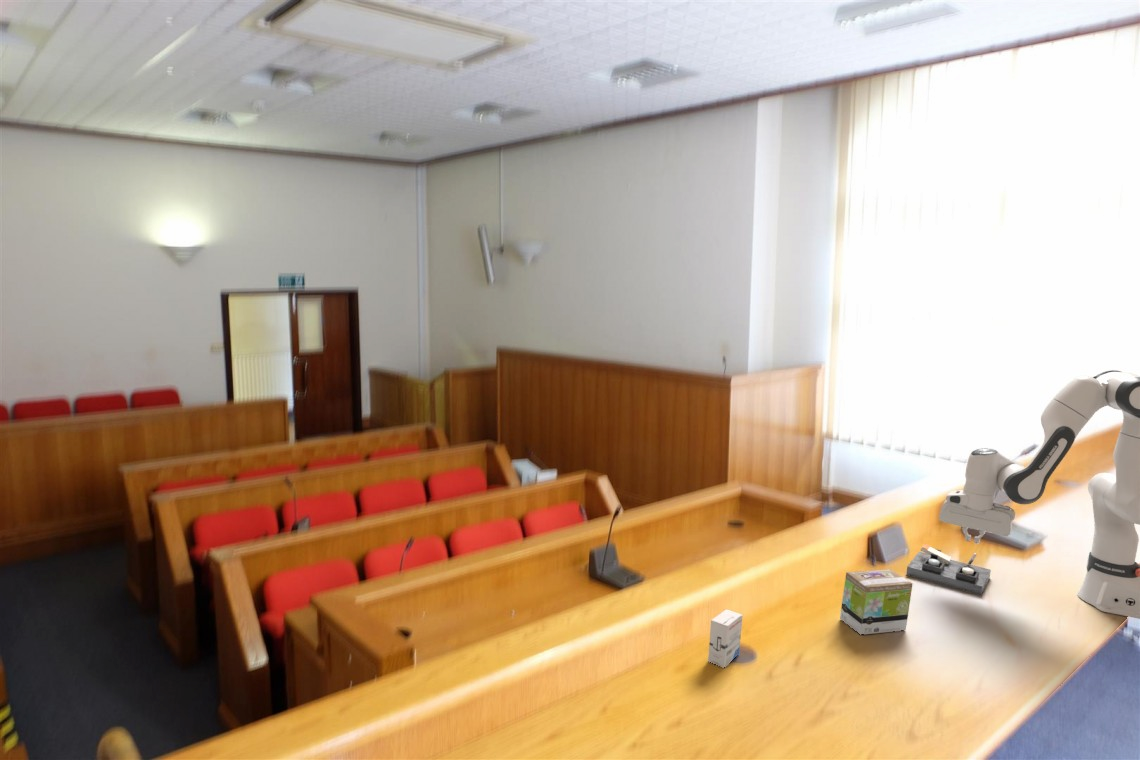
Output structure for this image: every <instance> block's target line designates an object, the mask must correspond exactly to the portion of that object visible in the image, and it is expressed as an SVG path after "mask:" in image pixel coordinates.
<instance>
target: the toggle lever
mask: <svg viewBox="0 0 1140 760" xmlns="http://www.w3.org/2000/svg"><path fill="white" fill-rule="evenodd" d="M977 556H978V555H977V553H973V554H972V556H971V558H970V559H969V561H968V562H967V563H966V564H967V566H968V567H970V566H971V565H972V564H973V562H974V561H975V559H976V558H977Z"/></svg>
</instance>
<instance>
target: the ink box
mask: <svg viewBox="0 0 1140 760" xmlns="http://www.w3.org/2000/svg"><path fill="white" fill-rule="evenodd" d="M743 615H744V614H741V613H739V612H736V611H733V610H732V609H731V610H730V609H728V608H726V609H725V610H723V611H722V612H721V613H719V614H718V615H716V616H715V617H713V618H712V619H710V630H709V643H708V656H707V657H708V658H707V662H708V663H710V662H711V663H710V664H712V663H713V665H714V664H716V665H715V666H717V665H718V666H717V667H719V666H721V667H723V668H722V669H725V668H727V666H729V665H730V664H729V663H730V662H731V661H732V660H733V659H734V658H735V657H736V656H737V655H738V656H740V646H741V637H742V636H741V635H742V628H743V627H742V626H743V618H744V616H743ZM738 656H737V657H738ZM737 657H736V658H737ZM736 658H735V659H736ZM735 659H734V660H735ZM734 660H733V661H734ZM733 661H732V662H733ZM721 667H720V668H721ZM724 667H725V668H724Z"/></svg>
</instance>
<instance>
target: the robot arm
mask: <svg viewBox="0 0 1140 760" xmlns="http://www.w3.org/2000/svg"><path fill="white" fill-rule="evenodd" d="M1106 406H1108V407H1111V409H1114V410H1118V411H1119V410H1120V411H1121V412H1122V415H1123V419H1122V424H1121V426H1120V429H1119V434H1118V436H1117V440H1116V443H1115V446H1114V450H1113V453H1112V458H1113V460H1112V461H1113V462H1114V467H1115V473H1114V472H1113V473H1112V472H1099V473H1096V474H1095V475H1094V476H1092V477H1091V479H1090V480H1089V482H1088V485H1087V490H1088V493H1089V495H1090V498H1091V501H1092V511H1093V523H1094V531H1093V538H1092V544H1091V550H1090V551H1089V553H1088V557H1087V561H1086V573H1085V577H1084V578H1083V579H1084V580H1083V582H1082V585H1081V586H1080V589H1079V590H1078V591H1077V596H1078V598H1079V599H1080V600H1082V601H1084V602H1086V603H1088V604H1090V605H1092V606H1093V607H1095V608H1096V609H1097V610H1099V611H1101V612H1105V613H1109V614H1114V615H1117V616H1118V615H1119V616H1125V617H1128V618H1129V617H1130V618H1134V619H1138V620H1140V562H1137V561H1136V557H1137V551H1138V546H1139V542H1140V541H1139V540H1140V539H1139V538H1140V537H1139V534H1138V532H1137V530H1136V527H1135V526H1136V525H1139V526H1140V376H1139V375H1137V374H1134V373H1132V372H1123V371H1121V370H1113V369H1112V370H1106V371H1103V372H1100V373H1098V374H1097V375H1095V376H1088V375H1080V376H1076V377H1074V378H1073V379H1072V380H1071V381H1070V382H1068V383H1067V384H1066V385H1065V386H1064V387H1063V388H1061V390H1060V391H1058V392H1057V394H1056V395H1055V396H1054V397H1053V398H1052V399H1051V401H1049V403H1048V404H1047V405H1046V406H1045V408H1044V410H1043V412H1042V414H1041V415H1040V421H1041V426H1042V429H1043V434H1044V438H1043V443H1042V445H1041V446H1040V448H1039V449H1038V451H1037V452H1036V454H1035V455H1034V457H1032V459H1031V461H1029V463H1028V465H1026V466H1025V465H1024V464H1022V463H1020V462H1018V461H1016V460H1013V459H1010V458H1008V457H1006V456H1005V455H1002V454H1001V453H1000V452H999V451H997V450H996V449H993V448H988V447H987V448H986V447H985V448H982V447H981V448H976V449H975V450H972V451H971V453H970V454H969V457H968V459H967V464H966V468H965V473H964V474H965V475H964V477H965V483H964V485H963V488H962V489H959V490H950V491H949V492H947V494H946V496H945V500H944V502H943V503H942V505H941V507H940V511H939V515H938V519H939V521H940V522H941V523H944V524H945V523H946V524H950V525H955V526H958V527H962V529H961V530H962V532H963V535H964V536H965V537H964V541H967V542H971V540H972V534H969V531H968V529H971V530H976V531H979V535H978V536H976V535H974V538H973V543H974V544H978V545H979V544H980V542H981V539H982V537H984V536H985V534H986V533H990V534H994V535H998V536H1003V537H1009V536H1010V535H1011V533H1012V530H1013V520H1015V516H1016V512H1015V510H1014V509H1013V508H1012V507H1011V506H1009V505H1003V504H999V503H996V502H995V499H996V492H997V491H1002V492H1004V493H1005V494H1006V496H1007V497H1008V498H1009V499H1010V500H1011V501H1012V502H1014V503H1016V504H1018V505H1030V504H1033V503H1036V502H1037V501H1039V500H1040V499H1041V498H1042V497H1043V494H1044V492H1045V490H1046V487H1047V483H1048V481H1049V479H1050V478H1051V475H1052V474H1053V473H1054V472H1055V471H1056V469H1057V468H1058V466H1059V465H1060V464H1061V463H1062V461H1063V459H1064V458H1065V456H1067V453H1068V452H1069V451H1070V449H1071V448H1072V446H1073V444H1074V443H1075V440H1076V438H1077V436H1078V435H1079V434H1080V433H1081V431H1082V429H1083V428H1084V427H1085V426H1086V425H1087V423H1088V422H1089V421H1090V420H1091V419H1092V417H1094V415H1095V414H1096V412H1098V411H1099V410H1101V409H1102V408H1105V407H1106Z"/></svg>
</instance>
